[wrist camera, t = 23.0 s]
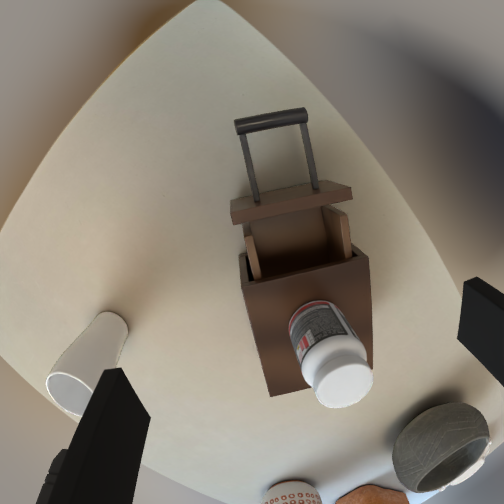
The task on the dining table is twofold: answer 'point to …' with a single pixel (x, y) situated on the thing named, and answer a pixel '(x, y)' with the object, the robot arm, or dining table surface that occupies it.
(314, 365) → the pill bottle
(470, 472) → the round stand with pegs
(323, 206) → the drawer
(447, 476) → the bowl
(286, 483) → the white patterned vase
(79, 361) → the drinking glass
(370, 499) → the bread
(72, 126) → the dining table surface
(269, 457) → the dining table surface
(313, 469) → the dining table surface
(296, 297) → the cabinet
